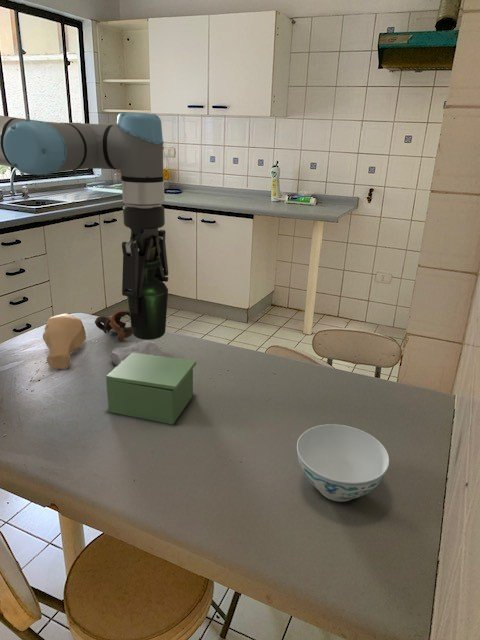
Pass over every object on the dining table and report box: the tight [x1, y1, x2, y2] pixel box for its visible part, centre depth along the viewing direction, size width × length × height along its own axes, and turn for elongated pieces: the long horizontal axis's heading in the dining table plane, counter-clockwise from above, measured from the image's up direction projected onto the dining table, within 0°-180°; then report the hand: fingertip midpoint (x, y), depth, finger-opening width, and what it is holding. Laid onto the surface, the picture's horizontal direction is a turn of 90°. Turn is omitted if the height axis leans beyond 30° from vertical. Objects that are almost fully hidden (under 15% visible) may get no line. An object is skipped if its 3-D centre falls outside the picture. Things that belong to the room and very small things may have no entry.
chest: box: [105, 368, 194, 425], centre depth 100 cm, size 15×12×8 cm
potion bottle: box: [126, 247, 169, 341], centre depth 91 cm, size 8×8×18 cm
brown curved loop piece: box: [94, 309, 134, 342], centre depth 133 cm, size 12×10×8 cm
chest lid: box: [105, 353, 197, 390], centre depth 98 cm, size 15×12×1 cm
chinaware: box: [296, 423, 390, 503], centre depth 78 cm, size 15×15×8 cm
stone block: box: [110, 340, 165, 367], centre depth 118 cm, size 12×5×10 cm
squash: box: [42, 313, 87, 370], centre depth 121 cm, size 11×20×9 cm, turn 15°
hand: (148, 319), depth 94 cm, fingers closed on potion bottle, 8 cm apart
